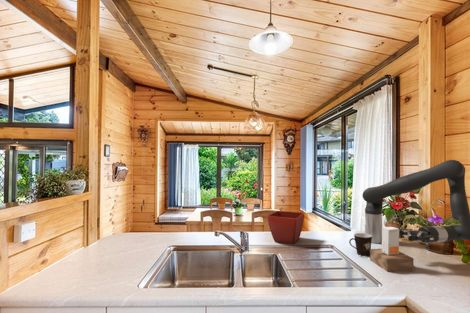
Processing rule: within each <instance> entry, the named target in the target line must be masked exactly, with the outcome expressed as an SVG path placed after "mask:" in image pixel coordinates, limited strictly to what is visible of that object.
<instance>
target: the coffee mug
mask: <svg viewBox="0 0 470 313" xmlns="http://www.w3.org/2000/svg"><path fill="white" fill-rule="evenodd" d="M353 236H354V237H353V238H350V239H349V241H348V243H349V245H350V246H351V247H352V248H354V249H355V250H356V254H357V255H358V256H361V257H362V256H363V257H370V249H372V243H371V241H372V235H369V234H365V232H364V233H363V232H357V233H354V234H353ZM353 240H354V242H355V246H354V245H353V244H352V242H351V241H353Z"/></svg>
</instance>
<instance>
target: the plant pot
mask: <svg viewBox="0 0 470 313" xmlns="http://www.w3.org/2000/svg"><path fill="white" fill-rule="evenodd" d="M266 218H267V223H268V227H269V230H270V234H271V237H272V238H273V241H274V242H276V243H282V244H291V245H294V244H295V243H296V242H297V241H299V239H300V238H301V237H300V236H301V235H302V230H303V225H304V219H305V212H299V211H287V210H286V211H285V210H276V211H274V212H272V213H269V214H267V216H266Z"/></svg>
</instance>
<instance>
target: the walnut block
mask: <svg viewBox="0 0 470 313" xmlns="http://www.w3.org/2000/svg"><path fill="white" fill-rule="evenodd" d="M369 257H370V262H372V263H374V264H375V265H377V266H378V267H379V268H381V269H382V270H384V271H385V272H387V273H392V272H393V273H394V272H396V273H397V272H400V273H401V272H414V270H415V268H414V258H413V257H412V256H410V255H407V254H406V253H403V252H401V251H400V250H399V254H392V255H387V254H385V253H383V252H382V248H371V249H370V256H369Z"/></svg>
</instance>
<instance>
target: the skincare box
mask: <svg viewBox="0 0 470 313" xmlns="http://www.w3.org/2000/svg"><path fill="white" fill-rule="evenodd" d="M399 231H400V229H399V228H397V227H395V226H382V243H381V249H382V252H383V253H385V254H387V255H392V254H399V251H400V236H399Z"/></svg>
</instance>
